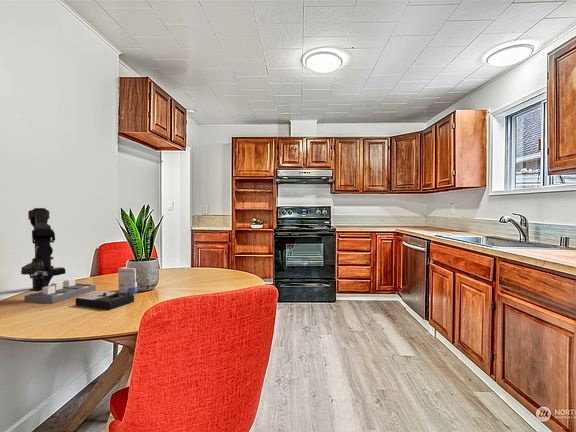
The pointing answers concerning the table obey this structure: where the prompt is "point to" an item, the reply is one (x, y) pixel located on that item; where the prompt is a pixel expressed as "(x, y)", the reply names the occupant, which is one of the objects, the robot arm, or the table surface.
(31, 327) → the table surface
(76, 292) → the switch bank
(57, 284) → the tab
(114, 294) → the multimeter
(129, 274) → the ink box
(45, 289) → the tab
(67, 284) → the tab
